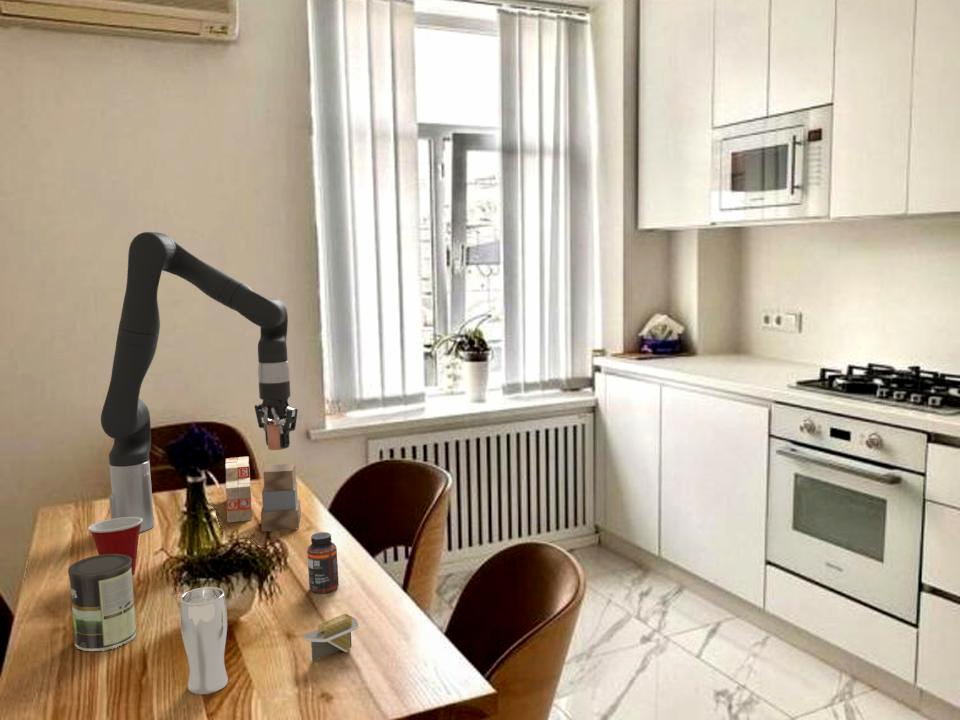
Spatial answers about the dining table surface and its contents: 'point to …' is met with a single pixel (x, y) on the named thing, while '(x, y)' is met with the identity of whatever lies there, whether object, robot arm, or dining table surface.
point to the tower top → (279, 477)
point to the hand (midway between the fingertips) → (277, 446)
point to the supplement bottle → (322, 563)
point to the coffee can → (102, 602)
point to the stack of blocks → (238, 489)
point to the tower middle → (279, 500)
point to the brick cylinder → (274, 436)
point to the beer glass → (204, 638)
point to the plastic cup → (117, 537)
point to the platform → (332, 636)
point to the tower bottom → (281, 519)
